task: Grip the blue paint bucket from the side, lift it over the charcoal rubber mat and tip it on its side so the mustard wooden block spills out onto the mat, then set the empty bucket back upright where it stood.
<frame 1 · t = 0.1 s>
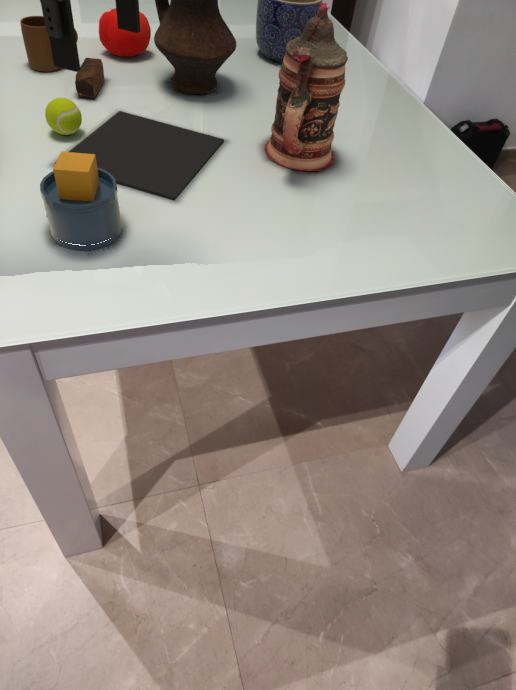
hand: (100, 47, 59), 29 cm above the table, tool pointing down, fingers open, 13 cm apart
block: (80, 191, 78), point 7 cm above the table, touching blue paint bucket
jug: (191, 84, 123), on the table
mug: (56, 67, 122), on the table
brick: (91, 89, 116), on the table
tennis ball: (66, 134, 103), on the table
tomato: (127, 54, 131), on the table
blue paint bucket: (86, 229, 83), on the table, touching block
planter: (283, 56, 141), on the table
mat: (144, 152, 101), on the table
beer stein: (294, 156, 106), on the table
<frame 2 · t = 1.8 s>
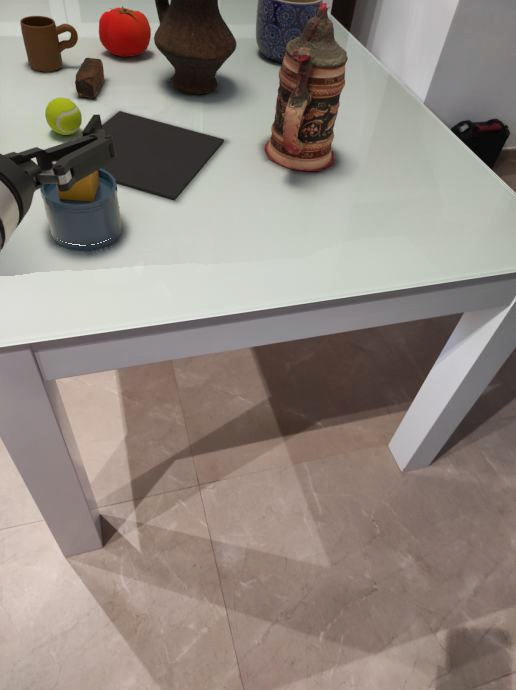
hand: (43, 126, 63), 21 cm above the table, tool horizontal, fingers open, 13 cm apart
nothing on the table moved.
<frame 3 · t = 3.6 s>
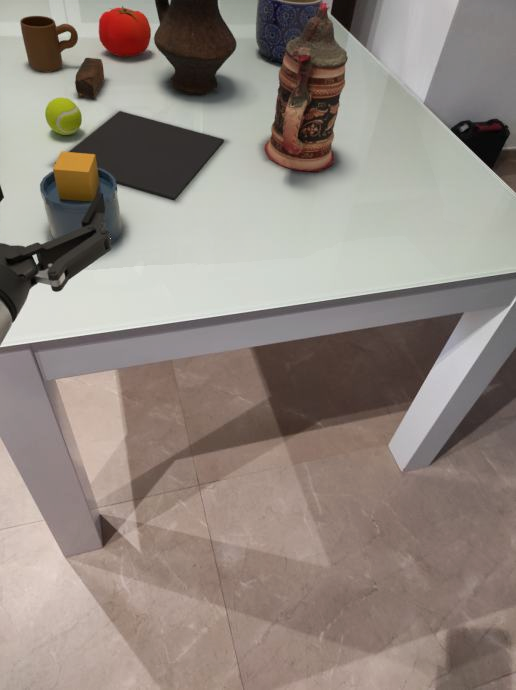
hand: (50, 194, 68), 13 cm above the table, tool horizontal, fingers open, 13 cm apart
nothing on the table moved.
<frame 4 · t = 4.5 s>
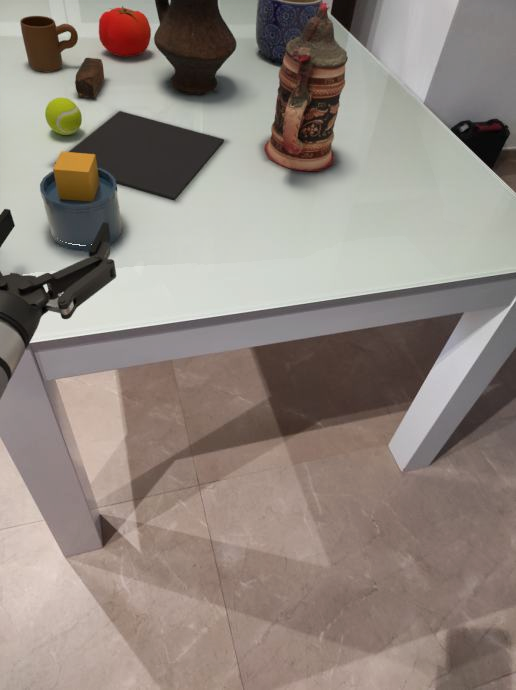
hand: (58, 223, 72), 8 cm above the table, tool horizontal, fingers open, 13 cm apart
nothing on the table moved.
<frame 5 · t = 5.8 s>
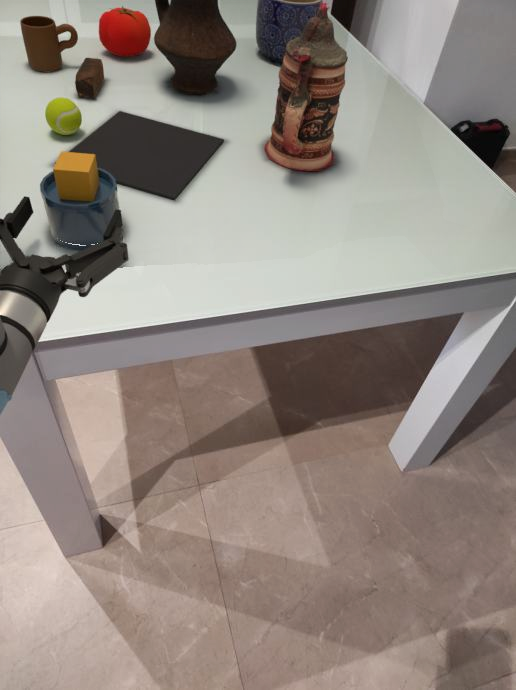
hand: (74, 210, 77), 6 cm above the table, tool horizontal, fingers open, 13 cm apart
nothing on the table moved.
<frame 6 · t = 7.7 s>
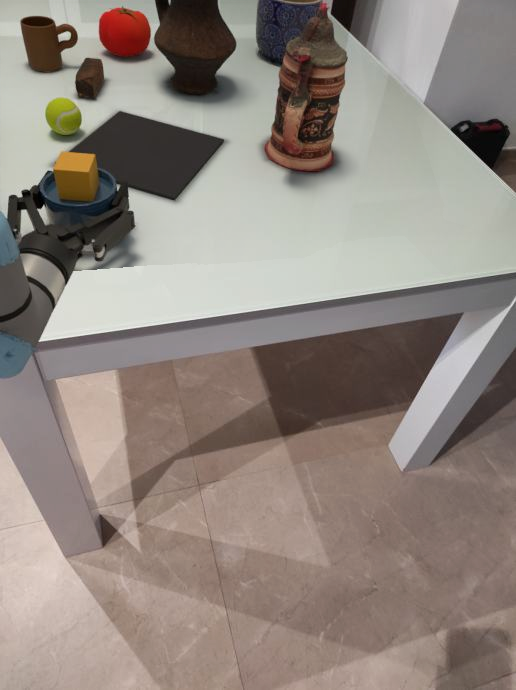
hand: (88, 183, 81), 6 cm above the table, tool horizontal, fingers closed on blue paint bucket, 11 cm apart
blue paint bucket: (86, 229, 83), on the table, touching block, gripper
everything else where it was.
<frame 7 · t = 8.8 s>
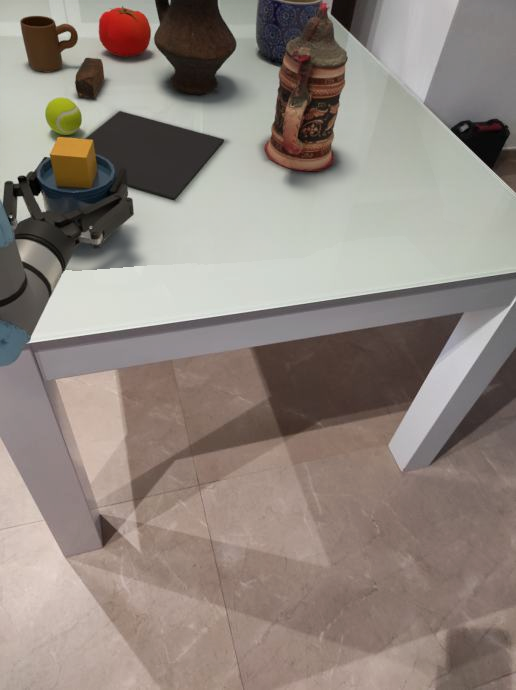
hand: (86, 170, 80), 8 cm above the table, tool horizontal, fingers closed on blue paint bucket, 11 cm apart
block: (77, 178, 76), point 9 cm above the table, touching blue paint bucket
blue paint bucket: (84, 217, 82), point 2 cm above the table, touching block, gripper
everything else where it was.
when the fingers open (6 cm above the table, at t = 27.1 s): blue paint bucket stays where it is, on the table.
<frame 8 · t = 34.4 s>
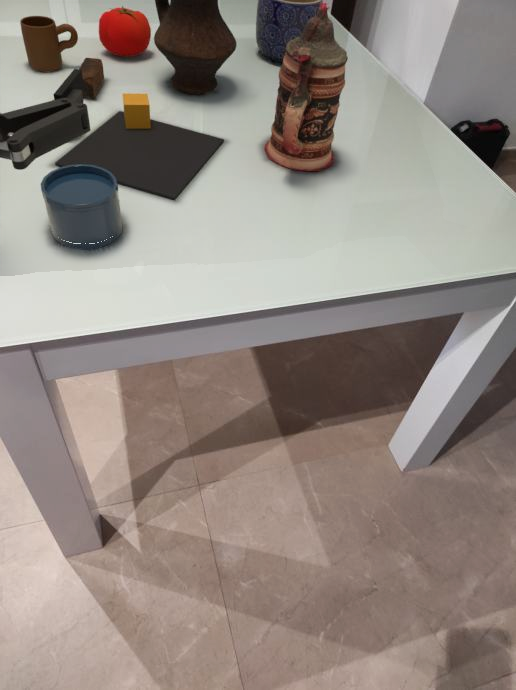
hand: (18, 73, 56), 28 cm above the table, tool horizontal, fingers open, 13 cm apart
block: (137, 123, 107), resting on mat
blue paint bucket: (87, 228, 84), on the table
everything else where it was.
at the end: block inside the target area on the mat (11.0 cm from its centre), point 0.5 cm above the mat's base; block touching mat; blue paint bucket tilted 0° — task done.
